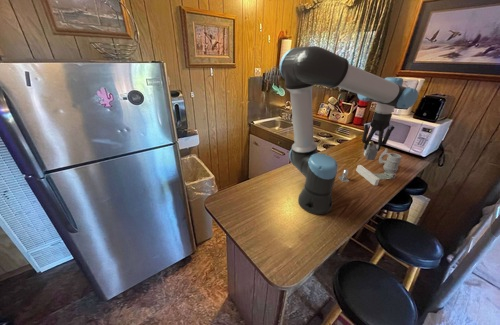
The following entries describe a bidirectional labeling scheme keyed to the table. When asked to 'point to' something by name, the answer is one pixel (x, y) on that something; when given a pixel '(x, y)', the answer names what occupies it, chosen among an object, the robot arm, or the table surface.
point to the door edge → (367, 175)
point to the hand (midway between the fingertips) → (369, 155)
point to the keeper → (385, 175)
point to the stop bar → (371, 151)
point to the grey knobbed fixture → (344, 176)
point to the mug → (390, 160)
